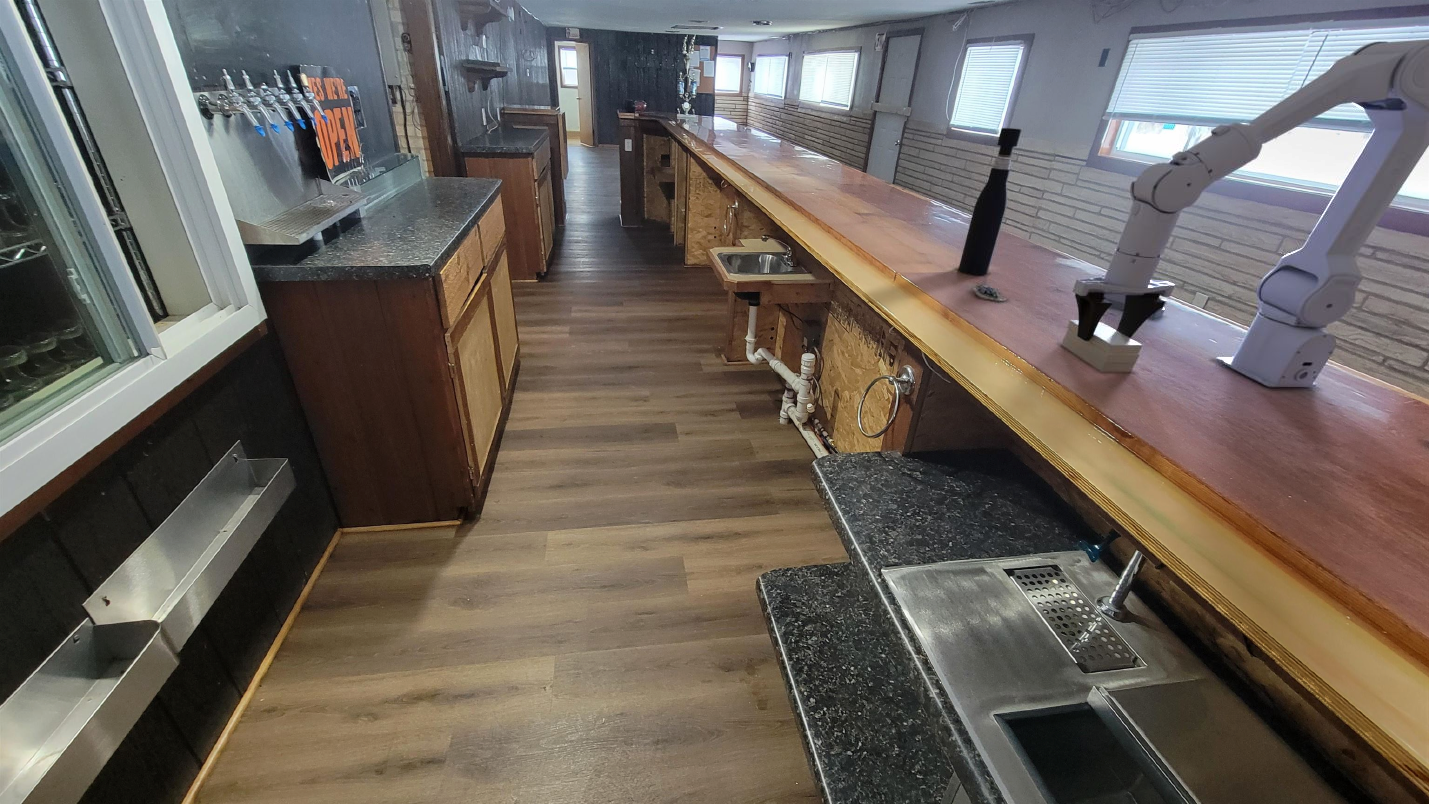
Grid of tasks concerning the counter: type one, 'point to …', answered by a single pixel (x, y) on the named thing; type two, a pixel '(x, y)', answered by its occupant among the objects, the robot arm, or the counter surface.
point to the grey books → (1119, 304)
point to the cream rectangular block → (1098, 354)
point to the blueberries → (988, 293)
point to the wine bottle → (989, 210)
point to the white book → (1109, 339)
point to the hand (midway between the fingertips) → (1102, 338)
